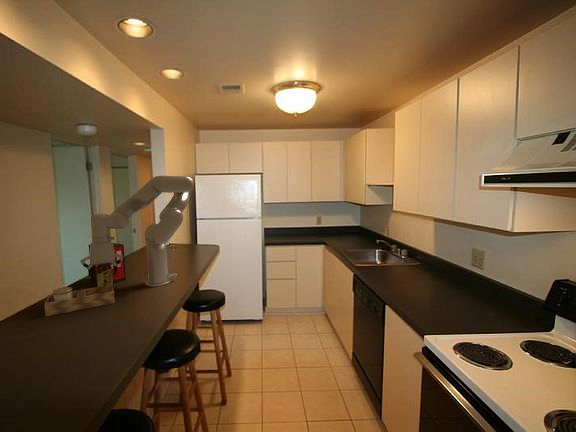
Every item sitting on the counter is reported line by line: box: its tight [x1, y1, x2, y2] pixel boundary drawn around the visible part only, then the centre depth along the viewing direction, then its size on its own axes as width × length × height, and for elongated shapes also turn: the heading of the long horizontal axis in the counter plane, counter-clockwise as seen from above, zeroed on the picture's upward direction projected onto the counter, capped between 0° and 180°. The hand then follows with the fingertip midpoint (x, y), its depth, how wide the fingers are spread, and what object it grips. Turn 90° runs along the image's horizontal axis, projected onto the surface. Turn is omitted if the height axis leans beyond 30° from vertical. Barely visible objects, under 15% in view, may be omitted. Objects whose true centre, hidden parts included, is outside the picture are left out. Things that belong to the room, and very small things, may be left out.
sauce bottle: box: [96, 263, 114, 287], centre depth 142 cm, size 7×6×20 cm
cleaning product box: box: [88, 242, 127, 285], centre depth 161 cm, size 16×9×20 cm, turn 63°
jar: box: [52, 286, 73, 302], centre depth 124 cm, size 6×6×8 cm
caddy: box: [44, 284, 116, 317], centre depth 127 cm, size 24×11×6 cm, turn 123°
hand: (103, 275), depth 141 cm, fingers open, 9 cm apart
